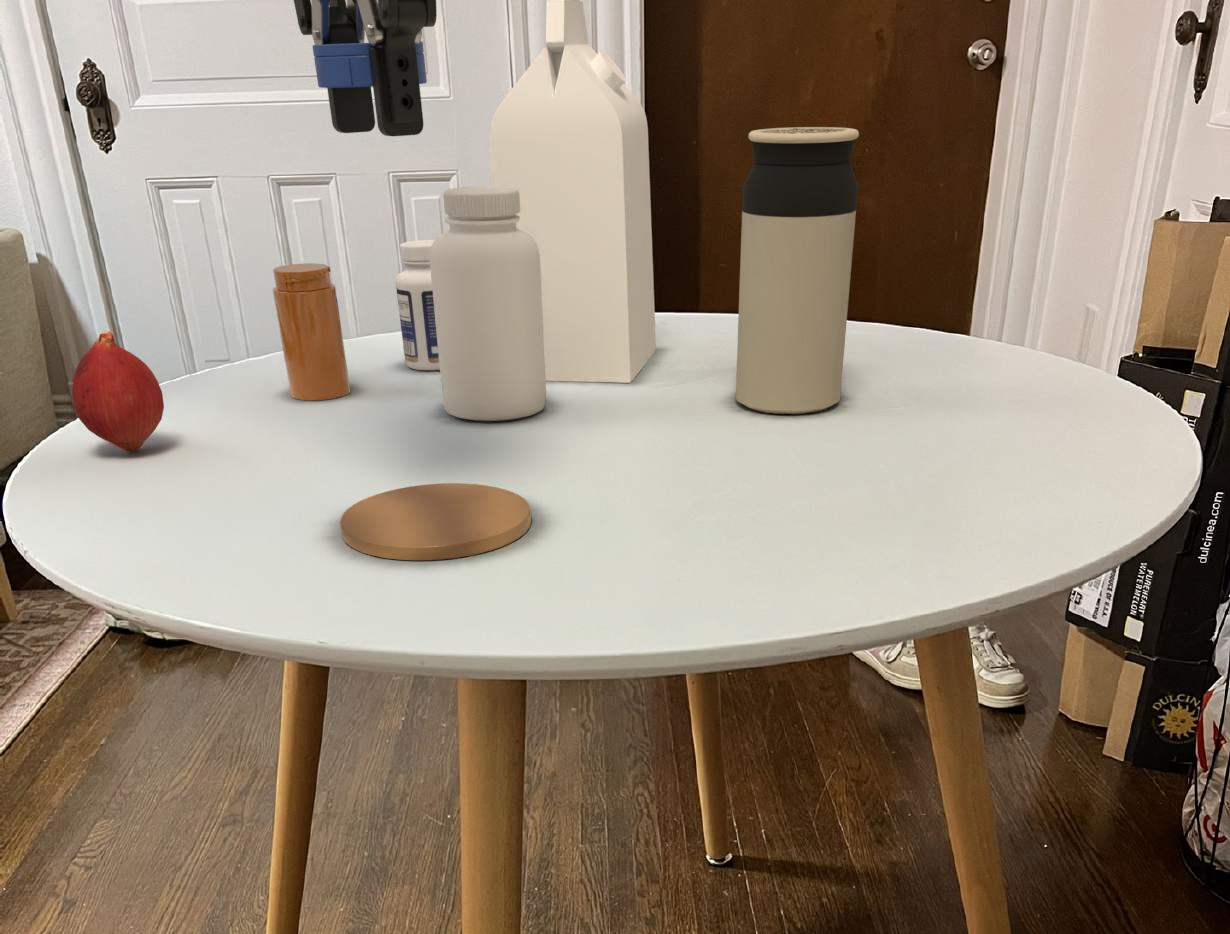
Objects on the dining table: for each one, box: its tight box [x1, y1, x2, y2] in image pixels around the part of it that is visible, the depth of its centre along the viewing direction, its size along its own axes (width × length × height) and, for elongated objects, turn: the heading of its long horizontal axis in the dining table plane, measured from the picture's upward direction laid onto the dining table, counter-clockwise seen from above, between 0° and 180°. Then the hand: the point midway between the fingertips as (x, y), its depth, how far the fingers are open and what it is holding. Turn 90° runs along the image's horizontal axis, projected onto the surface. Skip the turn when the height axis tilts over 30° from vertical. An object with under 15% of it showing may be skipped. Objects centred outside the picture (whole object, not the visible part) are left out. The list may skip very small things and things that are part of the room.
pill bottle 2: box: [430, 185, 547, 422], centre depth 85 cm, size 8×8×15 cm
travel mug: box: [735, 126, 860, 415], centre depth 84 cm, size 8×8×18 cm
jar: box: [272, 262, 351, 401], centre depth 92 cm, size 5×5×9 cm
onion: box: [71, 330, 165, 453], centre depth 79 cm, size 6×6×8 cm
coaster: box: [339, 482, 532, 561], centre depth 67 cm, size 11×11×1 cm
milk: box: [488, 0, 657, 384], centre depth 94 cm, size 12×12×26 cm
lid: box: [312, 40, 428, 89], centre depth 59 cm, size 6×6×2 cm
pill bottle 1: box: [395, 239, 440, 371], centre depth 99 cm, size 5×5×10 cm
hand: (377, 132), depth 60 cm, fingers closed on lid, 5 cm apart
